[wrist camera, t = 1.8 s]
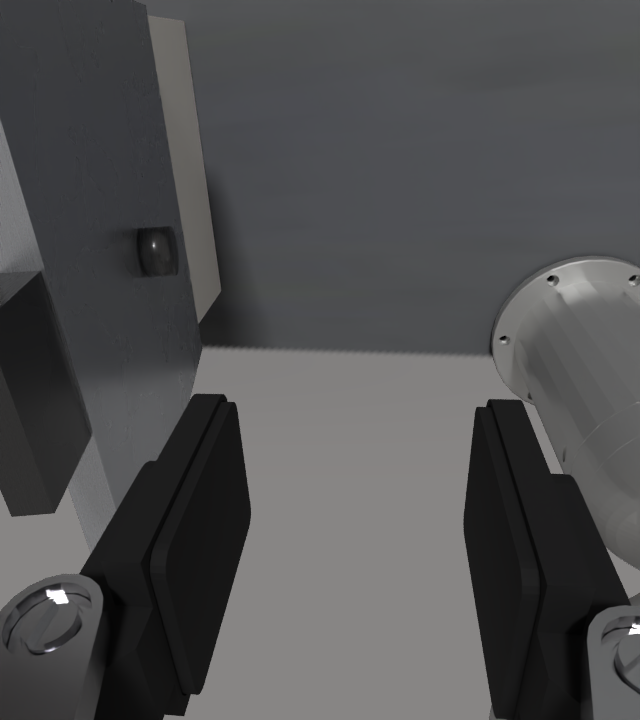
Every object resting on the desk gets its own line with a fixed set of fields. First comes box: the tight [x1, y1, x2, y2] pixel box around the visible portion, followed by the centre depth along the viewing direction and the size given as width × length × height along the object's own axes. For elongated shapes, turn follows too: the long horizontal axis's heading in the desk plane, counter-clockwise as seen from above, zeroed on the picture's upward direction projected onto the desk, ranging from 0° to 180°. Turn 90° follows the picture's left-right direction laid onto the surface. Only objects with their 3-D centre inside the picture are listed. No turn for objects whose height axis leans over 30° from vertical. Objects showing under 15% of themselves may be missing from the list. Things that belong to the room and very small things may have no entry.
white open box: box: [148, 16, 221, 324], centre depth 36 cm, size 18×18×9 cm
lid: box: [0, 0, 202, 553], centre depth 21 cm, size 21×18×2 cm
